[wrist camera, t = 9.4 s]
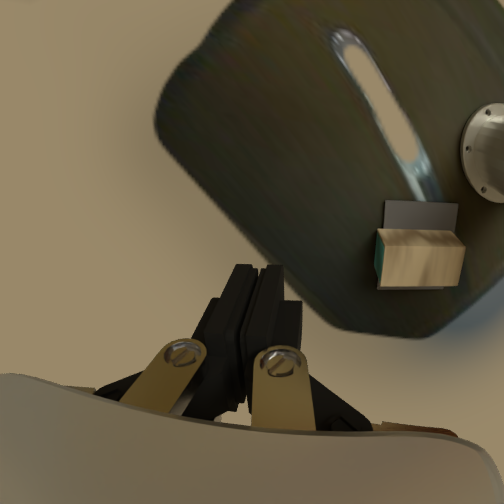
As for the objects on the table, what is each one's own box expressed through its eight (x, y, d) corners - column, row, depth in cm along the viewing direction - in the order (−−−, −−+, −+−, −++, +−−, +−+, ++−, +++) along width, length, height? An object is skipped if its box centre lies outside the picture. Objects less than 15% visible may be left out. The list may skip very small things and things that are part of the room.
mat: (457, 203, 34) (458, 204, 33) (442, 287, 39) (443, 289, 38) (385, 200, 36) (385, 200, 35) (376, 288, 41) (377, 289, 40)
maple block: (376, 228, 37) (450, 230, 35) (373, 265, 39) (444, 266, 37) (384, 245, 33) (465, 247, 31) (379, 286, 35) (457, 285, 33)
